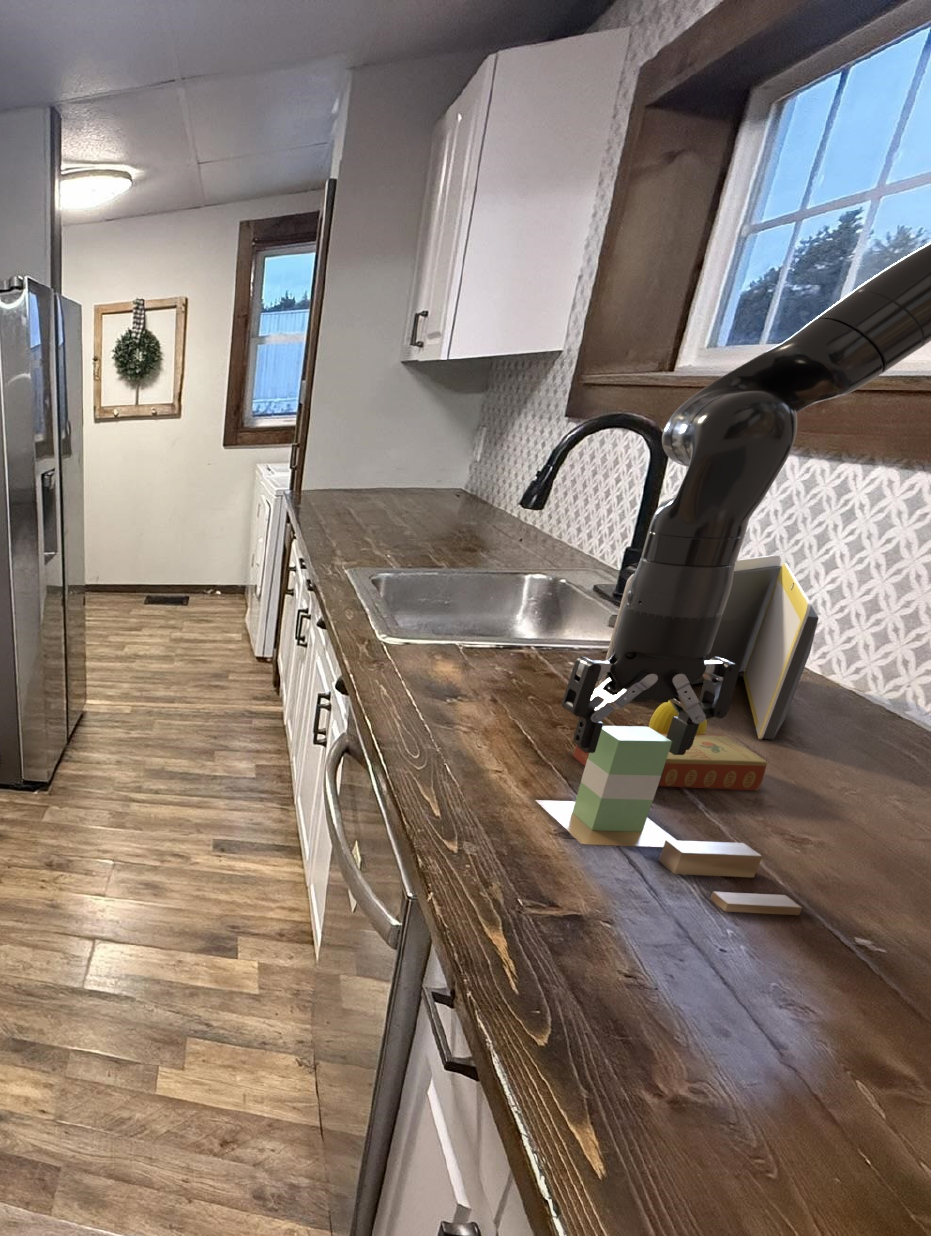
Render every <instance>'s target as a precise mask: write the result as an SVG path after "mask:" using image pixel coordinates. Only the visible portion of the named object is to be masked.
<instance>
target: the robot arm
mask: <svg viewBox="0 0 931 1236" xmlns="http://www.w3.org/2000/svg"><path fill="white" fill-rule="evenodd" d="M930 342H931V242H929V243H927V244H925V245H924V246H922V247H920V248H918V249H917V250H915V251H913V252H911V253H910V254H908V255H907V256H904V257H903V258H901V259H900V260H898V261H897V262H895V263H893V264H891V265H890V266H888V267H887V268H885V269H884V270H882V271H880V272H879V273H878V274H876V275H874V276H873V277H872V278H870V279H868V280H867V281H865V282H864V283H862V284H861V285H859V286H858V287H857V288H856V289H854V290H853V291H851V292H850V293H848V294H847V295H845V296H844V297H843V298H841V299H840V300H839V301H837V302H836V303H835V304H833V305H832V306H831V307H829V308H828V309H826V310H825V311H823V312H822V313H821V314H820V315H818V316H816V317H815V318H814V319H813V320H812V321H810V322H809V323H807V324H806V325H804V326H803V327H802V328H801V329H800V330H799V331H796V332H795V333H794V334H793V335H792V336H790V337H789V338H787V339H786V340H784V341H783V342H781V343H779V344H777V345H776V346H774V347H772V348H770V349H769V350H767V351H765V352H763V353H761V354H758V355H757V356H756V357H754V358H752V359H751V360H750V359H749V361H747V362H745V363H743V364H741V365H740V366H738V367H736V368H735V369H733V370H731V371H730V372H728V373H726V374H724V375H723V376H721V377H719V378H718V379H716V380H714V381H712V382H711V383H710V384H708V385H707V386H705V387H704V388H701V390H698V392H696V393H694V395H692V396H691V397H689V398H688V399H687V400H686V401H684V402H683V403H682V404H681V405H680V406H679V407H678V408H677V409H676V410H675V411H674V412H673V414H671V416H670V417H669V419H668V420H667V422H666V424H665V426H664V428H663V431H662V435H661V446H662V449H663V451H664V453H665V455H666V456H667V457H668V459H670V460H671V461H673V462H674V463H676V464H679V465H680V466H684V467H687V470H686V473H685V475H684V477H683V480H682V481H681V483H680V486H679V489H678V491H677V492H676V495H675V497H672V498H669V499H666V500H665V501H664V502H662V503H660V505H658V507H657V508H656V509H655V512H654V514H653V516H652V517H651V520H650V524H649V527H648V530H647V534H646V538H645V542H644V546H643V548H642V552H641V557H640V559H639V561H638V564H637V566H636V569H635V571H634V572H633V574H634V575H633V574H632V575H633V577H632V580H631V583H630V587H629V590H628V593H627V596H626V601H625V605H624V608H623V612H622V616H621V619H620V623H619V626H618V630H617V633H616V637H615V651H614V653H613V655H612V656H611V657H610V659H609V660H608V661H605V660H597V659H596V660H594V659H590V658H588V657H586V656H579V657H577V658H576V659H575V661H574V665H573V667H572V670H571V673H570V677H569V680H568V683H567V686H566V688H565V691H564V695H563V697H562V700H561V704H560V705H561V708H563V709H565V710H566V711H568V713H571V714H572V715H574V716H575V717H577V718H578V720H577V724H576V727H575V731H574V734H573V743H574V744H575V745H577V747H578V748H579V749H581V750H582V751H583V752H585V753H594V752H595V751H596V747H597V744H598V740H599V737H600V733H601V730H602V726H604V722H602V721H603V720H604V719H606V718H607V717H608V716H609V715H610V714H612V713H613V712H614V711H615V710H620V709H622V708H624V707H625V706H626V705H628V704H629V703H630V702H634V703H646V702H650V701H653V702H657V703H665V702H668V701H670V702H671V704H672V705H673V707H674V709H675V710H676V712H677V713H678V714H679V715H678V717H673V718H672V722H671V725H670V728H669V731H668V734H667V737H666V738H668V739H669V740H671V741H672V744H671V747H670V750H669V752H670V753H672V754H674V755H684V754H685V752H686V750H689V749H690V748H691V746H692V745H693V742H694V741H693V740H694V739H695V736H696V733H697V730H698V727H699V724H700V723H702V722H704V721H705V720H706V719H707V720H709V719H714V718H716V719H718V720H719V719H723V718H725V717H727V715H728V712H729V709H730V706H731V702H732V699H733V694H734V691H735V687H736V685H737V680H738V676H739V673H740V672H739V669H740V667H739V665H737V664H735V663H733V662H731V661H728V660H726V659H723V658H721V657H713V658H712V659H710V661H704V657H705V656H707V655H708V654H709V653H710V651H711V649H712V646H713V643H714V639H715V636H716V633H717V630H718V627H719V624H720V621H721V618H722V615H723V612H724V609H725V606H726V603H727V600H728V597H729V594H730V591H731V587H732V582H733V574H734V568H735V565H736V564H735V563H736V562H737V560H738V558H739V555H740V553H741V549H742V547H743V543H744V539H745V537H746V534H747V530H748V526H749V522H750V519H751V517H752V516H753V515H754V513H755V511H757V509H758V507H759V506H760V504H761V503H762V502H763V500H764V499H765V497H766V496H767V494H768V492H769V491H770V489H771V487H772V486H773V484H774V482H775V481H776V479H777V478H778V476H779V474H780V473H781V470H782V469H783V467H784V466H785V464H786V462H787V460H788V458H789V456H790V454H791V452H792V449H793V447H794V445H795V442H796V437H797V431H798V414H797V413H799V412H801V411H803V410H804V409H806V408H809V407H811V406H813V405H815V404H818V403H821V402H824V401H827V400H832V399H837V398H841V397H843V396H846V395H848V394H851V393H852V392H855V391H856V390H858V389H860V388H862V387H864V386H865V385H867V384H869V383H870V382H872V381H873V380H875V379H877V378H878V377H879V376H880V375H882V374H883V373H885V372H887V371H888V370H890V369H891V368H893V367H894V366H895V365H897V364H899V363H900V362H901V361H903V360H904V359H906V358H908V357H909V356H910V355H912V354H914V353H915V352H917V351H918V350H919V349H921V348H922V347H924V346H926V345H927V344H929V343H930ZM605 673H607V674H608V676H609V678H608V679H607V680H606V681H605V682H604V683H602V684H601V685H600V686H599V687H598V686H597V687H596V685H597V683H598V682H599V681H600V680H602V676H603V675H604V674H605ZM702 675H703V678H705V679H704V682H703V683H702V686H701V690H700V694H699V698H698V696H697V694H696V693H695V691H694V690H693V688H692V685H693V684H692V683H694V682H695V681H696V680H697V679H698V678H700V677H701V676H702ZM615 690H617V691H618V692H617V694H613V693H614V692H613V691H615Z"/></svg>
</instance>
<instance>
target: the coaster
mask: <svg viewBox="0 0 931 1236" xmlns="http://www.w3.org/2000/svg"><path fill="white" fill-rule="evenodd" d="M534 801H535V803H537V804H538V805H539V806H540V807H541V808H543V810H545V812H546V813H548V814H549V816H551V817H552V818H553V819H554V820H555V821H556V822H557V823H559V824H560V825H561V826H562V827H563V828H564V829H565V830H566V831H567V832H568V833H569V834H570V835H571V836H572V837H574V839H575V840H577V841H578V843H580V844H581V845H586V846H587V845H588V846H608V847H609V846H610V847H611V846H612V847H613V846H615V847H639V848H662V849H663V846H664V843H665V841H666V840H677V839H676V838H675V837H674V836H672V835H671V834H669V833H668V832H667V831H665V830H664V829H663V828H662V827H660V826H659V825H658V824H656V823H655V822H654V821H652V819H650V818H649V817H647V820H646V823H645V826H644V829H643V832H624V831H597V830H591V829H590V828H589V827H588V826H587V825H585V824H584V823H583V822H582V821H581V820H580V819H579V818H578V817H576V816H575V815H574V814H573V813H572V812H573V808H574V805H575V801H576V800H547V799H544V800H543V799H540V800H539V799H535V800H534Z"/></svg>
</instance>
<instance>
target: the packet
mask: <svg viewBox="0 0 931 1236" xmlns="http://www.w3.org/2000/svg"><path fill="white" fill-rule="evenodd" d="M671 744H672V741H671V740H669V739H668V738H666V737H664V736H663V735H661V734H659V733H658V732H656V731H654V730H653V729H651V728H649V726H639V725H638V726H637V725H636V726H635V725H632V726H631V725H630V726H629V725H603V726H602V730H601V733H600V737H599V740H598V744H597V747H596V751H595V752H594V753H589V756H588V759H587V762H586V766H584V769H583V773H582V776H581V780H580V783H579V787H578V790H577V794H576V798H575V800H574V801H575V805H574V808H573V812H572V813H573V814H574V815H575V816H576V817H578V818H579V819H580V820H581V821H582V822H583V823H584V824H585V825H587V826H588V827H589V828H590V829H591V830H597V831H624V832H643V829H644V826H645V823H646V820H647V818H649V817H648V816H649V813H650V811H651V807H652V804H653V801H654V799H655V796H656V793H657V790H658V787H659V786H658V784H659V781H660V778H661V774H662V771H663V768H664V765H665V762H666V759H667V756H668V753H669V750H670V747H671Z"/></svg>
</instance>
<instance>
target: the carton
mask: <svg viewBox="0 0 931 1236" xmlns="http://www.w3.org/2000/svg"><path fill="white" fill-rule="evenodd" d="M659 734H661V735H663V736H664V737H667V734H662V733H659ZM693 741H694V742H693V745H692V746H691V748H690V749H689V750H686V752H685V754H684V755H674V754H672V753H670V752H669V753H668V756H667V759H666V762H665V765H664V768H663V771H662V774H661V778H660V781H659V784H658V787H674V788H675V787H676V788H697V789H719V790H720V789H721V790H743V791H744V790H745V791H759V790H760V787H761V786H762V782H763V780H764V777H765V773H766V770H767V766H768V761H766V760H765V759H764V758H762V757H761V756H759V755H757V754H756V753H754V752H752V751H751V750H750V749H748V748H747V747H744V746H742V745H741V744H739V743H737V742H735V741H734V740H732V739H730V738H728V737H727V736H725V735H723V734H708V733H707V734H706V733H705V734H696V736H695V739H694V740H693ZM588 756H589V753H585V752H583V751H582V750H581V749H579V748H578V747H577V744H575V747H574V751H573V755H572V757H573V758H575V759H576V760H577V761H578V762H579V763H581V765H583V766H584V767H585V766H586V762H587V759H588Z"/></svg>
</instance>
